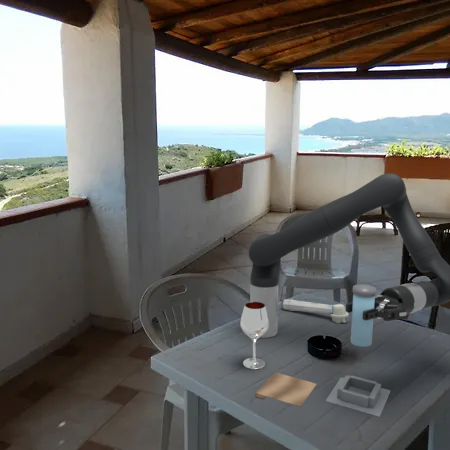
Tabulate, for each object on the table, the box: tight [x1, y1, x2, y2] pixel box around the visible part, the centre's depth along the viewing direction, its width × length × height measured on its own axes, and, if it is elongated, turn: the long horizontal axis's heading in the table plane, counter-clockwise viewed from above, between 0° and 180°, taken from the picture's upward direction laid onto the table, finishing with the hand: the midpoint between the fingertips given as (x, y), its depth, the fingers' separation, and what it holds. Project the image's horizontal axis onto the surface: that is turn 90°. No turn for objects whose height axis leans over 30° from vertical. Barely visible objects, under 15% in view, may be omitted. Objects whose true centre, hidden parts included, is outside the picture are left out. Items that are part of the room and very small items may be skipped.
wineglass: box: [239, 301, 269, 370], centre depth 134 cm, size 8×8×18 cm
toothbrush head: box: [280, 298, 350, 324], centre depth 171 cm, size 5×7×25 cm
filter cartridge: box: [350, 283, 377, 348], centre depth 113 cm, size 5×5×14 cm
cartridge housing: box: [325, 374, 392, 418], centre depth 117 cm, size 13×13×4 cm
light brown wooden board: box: [255, 371, 317, 408], centre depth 121 cm, size 12×12×1 cm
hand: (355, 312), depth 112 cm, fingers closed on filter cartridge, 5 cm apart
